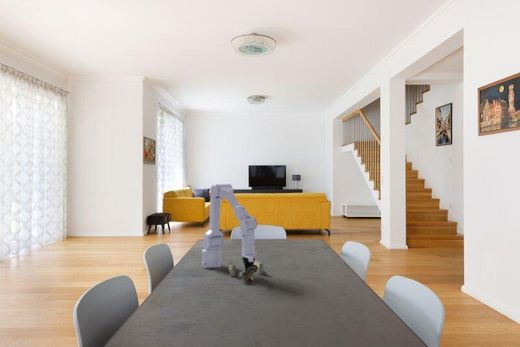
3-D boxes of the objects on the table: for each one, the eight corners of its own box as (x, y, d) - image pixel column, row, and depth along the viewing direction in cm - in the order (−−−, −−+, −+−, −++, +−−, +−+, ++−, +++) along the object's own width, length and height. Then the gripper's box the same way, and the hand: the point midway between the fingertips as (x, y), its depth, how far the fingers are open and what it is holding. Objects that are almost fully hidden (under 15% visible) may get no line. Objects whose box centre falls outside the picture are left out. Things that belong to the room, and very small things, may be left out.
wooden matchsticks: (230, 276, 146) (230, 266, 146) (227, 268, 159) (227, 258, 159) (263, 274, 149) (263, 263, 149) (257, 266, 163) (257, 256, 163)
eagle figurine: (258, 281, 136) (262, 271, 145) (248, 268, 136) (253, 258, 144) (244, 289, 138) (249, 279, 147) (235, 276, 138) (240, 266, 146)
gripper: (260, 246, 138) (260, 277, 138) (253, 240, 153) (253, 268, 153) (244, 247, 137) (244, 278, 137) (239, 241, 151) (239, 269, 151)
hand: (248, 273), depth 145 cm, fingers closed
